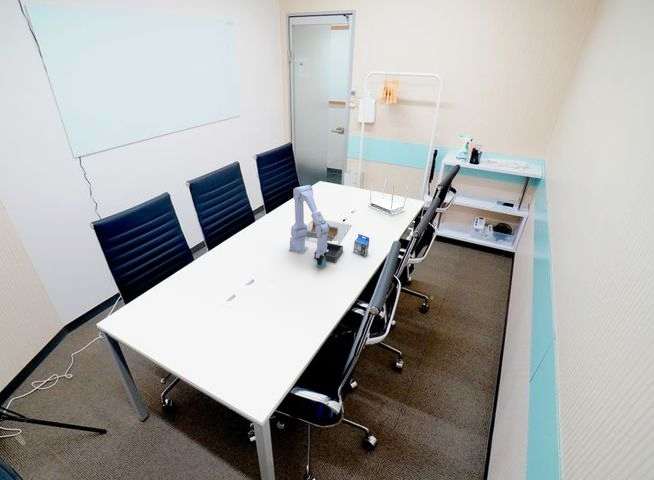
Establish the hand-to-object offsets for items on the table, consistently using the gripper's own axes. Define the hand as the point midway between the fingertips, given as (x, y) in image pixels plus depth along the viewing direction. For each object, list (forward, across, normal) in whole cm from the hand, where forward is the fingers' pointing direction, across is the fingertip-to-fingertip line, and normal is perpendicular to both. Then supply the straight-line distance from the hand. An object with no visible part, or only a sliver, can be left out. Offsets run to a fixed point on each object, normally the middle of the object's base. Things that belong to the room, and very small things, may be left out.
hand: (321, 262), depth 200 cm
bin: (+2, +14, 0) cm, 14 cm away
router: (+2, +106, -18) cm, 108 cm away
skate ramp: (+2, +45, +14) cm, 47 cm away
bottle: (+2, 0, 0) cm, 2 cm away
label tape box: (+2, +24, -18) cm, 30 cm away
